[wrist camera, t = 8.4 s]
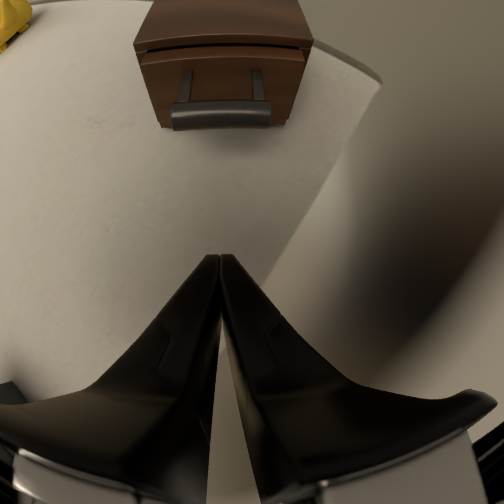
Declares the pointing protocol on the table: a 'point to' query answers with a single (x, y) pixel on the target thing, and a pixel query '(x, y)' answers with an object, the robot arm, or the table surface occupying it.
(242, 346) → the robot arm
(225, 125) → the drawer
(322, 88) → the table surface
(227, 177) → the table surface
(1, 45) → the teapot
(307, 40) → the cabinet
